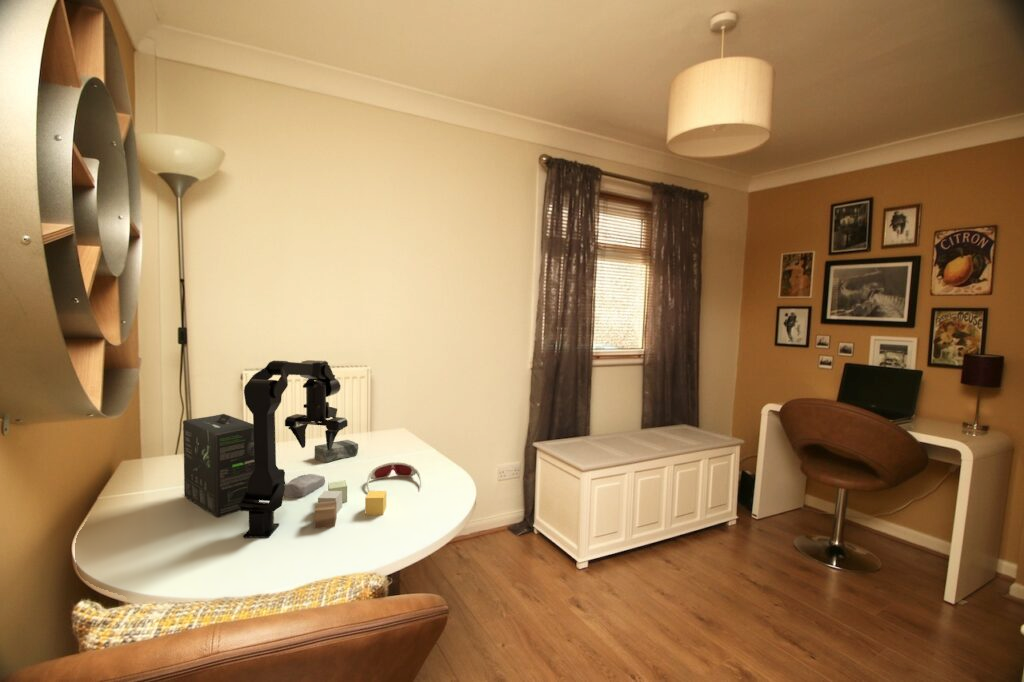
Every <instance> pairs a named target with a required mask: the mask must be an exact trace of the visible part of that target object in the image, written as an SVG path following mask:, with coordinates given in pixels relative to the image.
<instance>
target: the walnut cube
mask: <svg viewBox="0 0 1024 682" xmlns="http://www.w3.org/2000/svg"><path fill="white" fill-rule="evenodd" d="M337 514H338V513H337V501H331V502H320V503H318V502H316V506H315V509H314V529H324V528H332V527H334V528H335V527H336V524H337V523H336V522H337Z"/></svg>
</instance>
